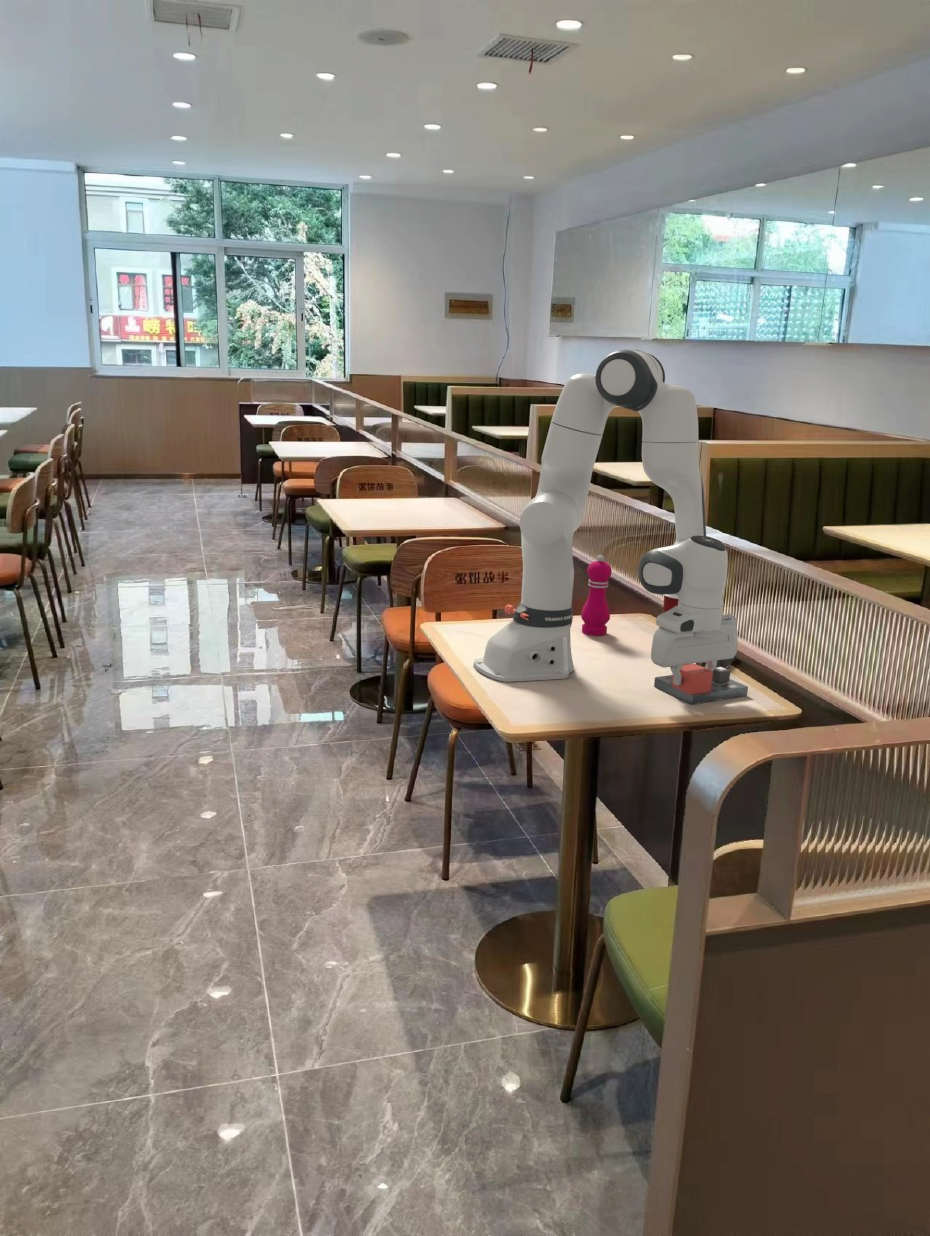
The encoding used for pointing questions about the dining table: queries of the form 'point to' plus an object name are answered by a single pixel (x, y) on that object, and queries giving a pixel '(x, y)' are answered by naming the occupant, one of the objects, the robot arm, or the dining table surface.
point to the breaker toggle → (721, 675)
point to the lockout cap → (695, 679)
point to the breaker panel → (717, 692)
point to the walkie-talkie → (720, 662)
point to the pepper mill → (597, 599)
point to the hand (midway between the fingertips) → (691, 682)
